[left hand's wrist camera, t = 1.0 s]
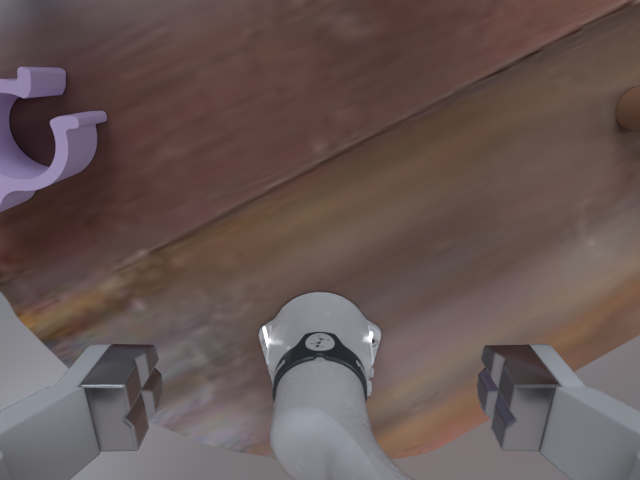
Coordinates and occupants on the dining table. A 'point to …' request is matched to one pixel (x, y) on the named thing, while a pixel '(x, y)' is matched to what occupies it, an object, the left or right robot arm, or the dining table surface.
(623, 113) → the bottle
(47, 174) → the clip
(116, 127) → the dining table surface
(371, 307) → the dining table surface
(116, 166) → the dining table surface
